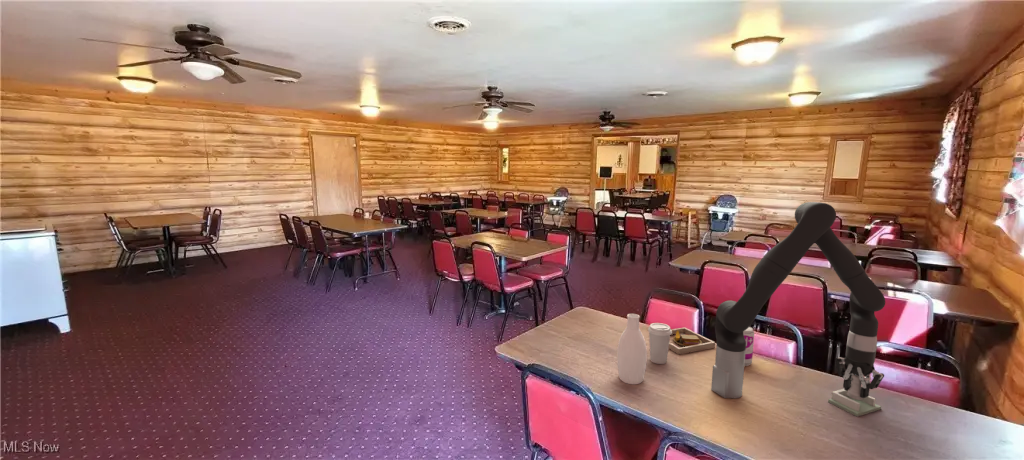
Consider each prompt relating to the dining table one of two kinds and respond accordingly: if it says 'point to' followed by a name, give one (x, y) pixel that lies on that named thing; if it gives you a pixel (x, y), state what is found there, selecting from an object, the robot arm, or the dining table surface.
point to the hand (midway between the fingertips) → (855, 393)
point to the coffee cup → (659, 342)
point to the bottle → (632, 352)
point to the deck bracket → (853, 403)
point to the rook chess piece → (855, 388)
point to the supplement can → (749, 345)
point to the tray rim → (693, 348)
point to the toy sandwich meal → (686, 339)
